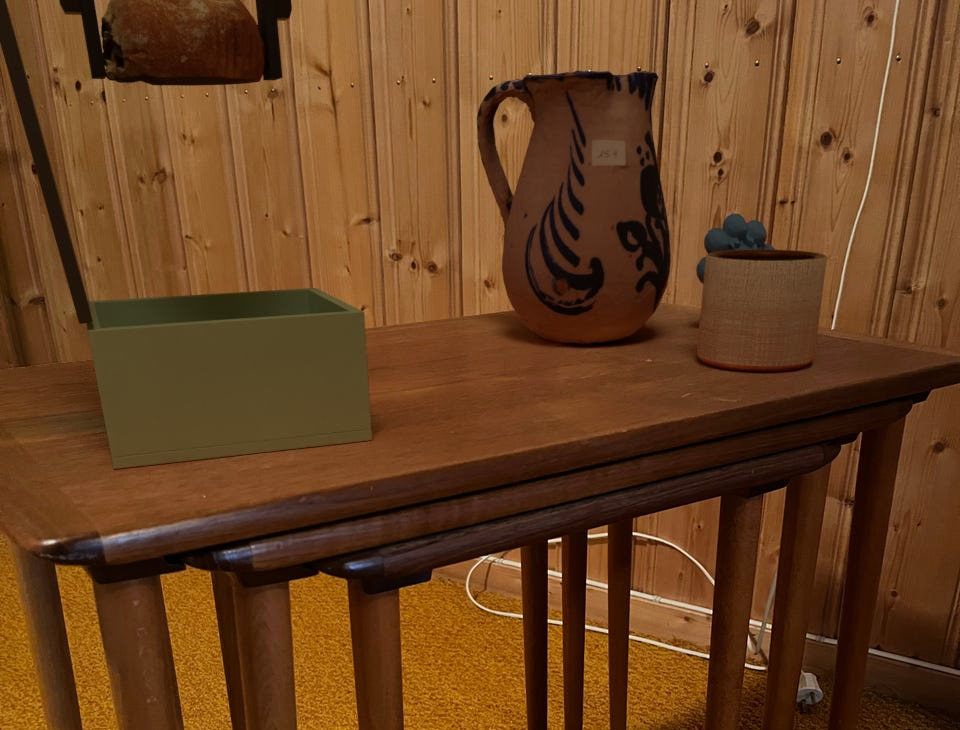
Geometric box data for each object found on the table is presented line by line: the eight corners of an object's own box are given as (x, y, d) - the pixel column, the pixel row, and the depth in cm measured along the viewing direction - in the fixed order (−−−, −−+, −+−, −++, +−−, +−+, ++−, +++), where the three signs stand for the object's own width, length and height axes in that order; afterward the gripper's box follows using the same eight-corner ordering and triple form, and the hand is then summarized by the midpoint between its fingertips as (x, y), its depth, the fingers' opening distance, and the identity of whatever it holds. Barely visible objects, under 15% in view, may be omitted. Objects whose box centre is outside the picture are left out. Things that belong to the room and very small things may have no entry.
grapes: (720, 337, 105) (731, 216, 100) (678, 329, 110) (687, 214, 105) (797, 327, 110) (812, 212, 105) (754, 320, 116) (766, 209, 110)
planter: (820, 355, 95) (835, 250, 91) (804, 377, 87) (820, 262, 82) (709, 348, 99) (718, 247, 95) (684, 368, 91) (692, 258, 86)
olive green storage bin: (325, 398, 82) (315, 287, 78) (372, 440, 70) (364, 311, 66) (104, 419, 76) (82, 301, 72) (113, 469, 64) (87, 330, 60)
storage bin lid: (5, -1, 63) (-8, 0, 63) (-7, -39, 51) (-23, -38, 51) (86, 294, 72) (75, 296, 72) (92, 322, 60) (79, 324, 60)
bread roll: (114, 145, 65) (40, 13, 60) (223, 74, 69) (163, -55, 64) (196, 142, 59) (123, -5, 54) (310, 65, 63) (252, -79, 58)
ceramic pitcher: (650, 356, 96) (668, 62, 85) (449, 347, 102) (441, 72, 91) (676, 328, 111) (694, 75, 100) (499, 321, 117) (498, 82, 106)
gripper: (-121, -472, 46) (-8, 72, 56) (349, -393, 53) (374, 75, 63) (-100, -397, 52) (-2, 80, 62) (318, -335, 59) (345, 83, 69)
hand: (188, 78), depth 63 cm, fingers closed on bread roll, 10 cm apart
